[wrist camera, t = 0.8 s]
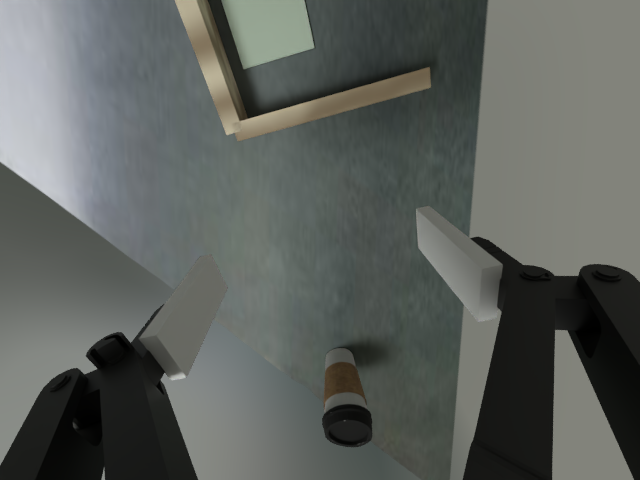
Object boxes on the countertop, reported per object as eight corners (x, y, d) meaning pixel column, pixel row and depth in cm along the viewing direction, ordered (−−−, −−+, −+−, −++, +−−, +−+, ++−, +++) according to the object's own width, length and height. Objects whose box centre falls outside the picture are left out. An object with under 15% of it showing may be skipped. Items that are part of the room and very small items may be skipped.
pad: (213, -27, 28) (212, -28, 27) (292, -54, 27) (292, -56, 27) (244, 69, 32) (243, 69, 31) (314, 48, 31) (314, 47, 31)
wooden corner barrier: (171, -48, 27) (144, -80, 22) (398, -127, 25) (417, -179, 21) (240, 139, 35) (230, 143, 31) (414, 91, 33) (430, 87, 29)
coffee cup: (349, 373, 57) (361, 453, 44) (314, 366, 56) (315, 446, 42) (365, 348, 54) (383, 426, 40) (328, 339, 52) (334, 417, 39)
